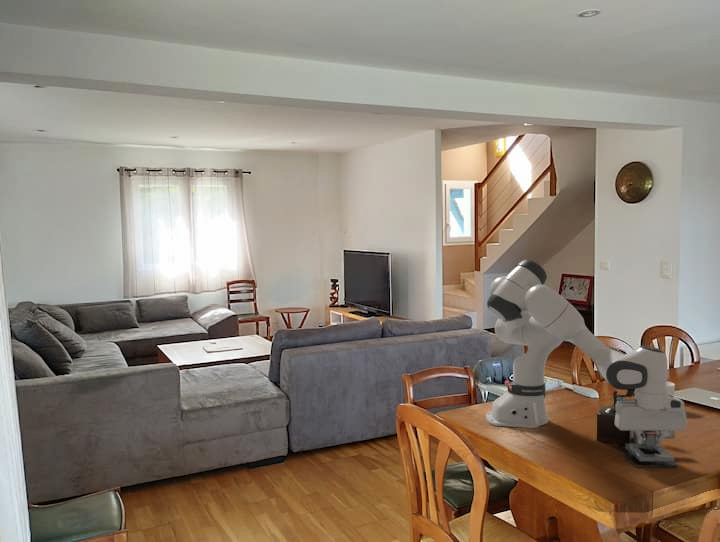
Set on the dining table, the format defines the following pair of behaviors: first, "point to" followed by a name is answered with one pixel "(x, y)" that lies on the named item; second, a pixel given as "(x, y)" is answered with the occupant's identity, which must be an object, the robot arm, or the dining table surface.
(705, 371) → the dining table surface
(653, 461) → the pipe elbow on plate
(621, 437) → the dark brown coffee grinder
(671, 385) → the white cup
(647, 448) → the pin
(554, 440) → the dining table surface
